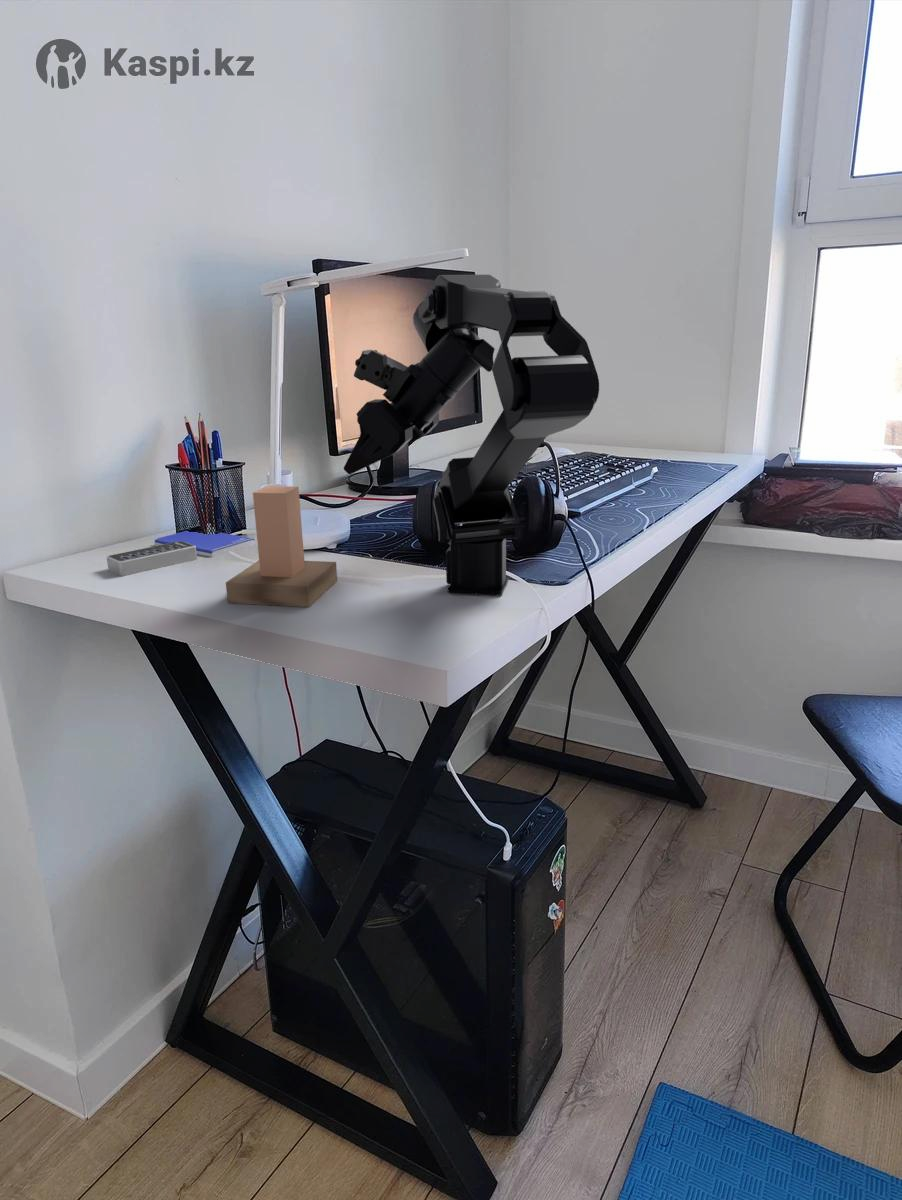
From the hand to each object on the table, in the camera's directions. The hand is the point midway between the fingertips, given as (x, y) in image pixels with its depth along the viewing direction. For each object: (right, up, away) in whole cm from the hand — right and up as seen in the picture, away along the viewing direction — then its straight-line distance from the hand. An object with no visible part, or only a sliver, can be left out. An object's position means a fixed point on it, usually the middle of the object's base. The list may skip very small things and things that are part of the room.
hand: (358, 464), depth 108 cm
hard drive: (-24, -10, +18) cm, 32 cm away
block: (-8, -14, -5) cm, 17 cm away
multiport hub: (-29, -13, +8) cm, 32 cm away
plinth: (-8, -16, -4) cm, 19 cm away
